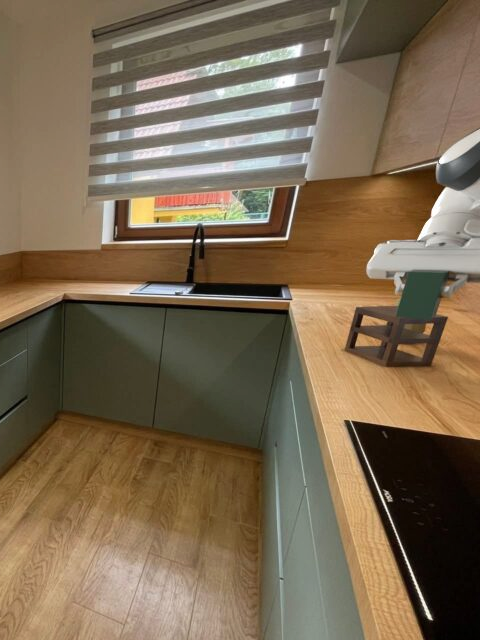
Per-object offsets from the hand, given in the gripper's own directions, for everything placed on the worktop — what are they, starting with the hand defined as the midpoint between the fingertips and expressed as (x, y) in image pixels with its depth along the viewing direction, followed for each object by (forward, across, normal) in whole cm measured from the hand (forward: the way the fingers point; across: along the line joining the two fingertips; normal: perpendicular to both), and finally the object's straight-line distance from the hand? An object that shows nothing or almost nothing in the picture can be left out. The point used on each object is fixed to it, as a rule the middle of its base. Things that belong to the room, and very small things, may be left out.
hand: (421, 295), depth 84 cm
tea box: (+3, 0, +4) cm, 4 cm away
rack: (-4, -7, +32) cm, 33 cm away
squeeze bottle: (-18, -8, +47) cm, 51 cm away
